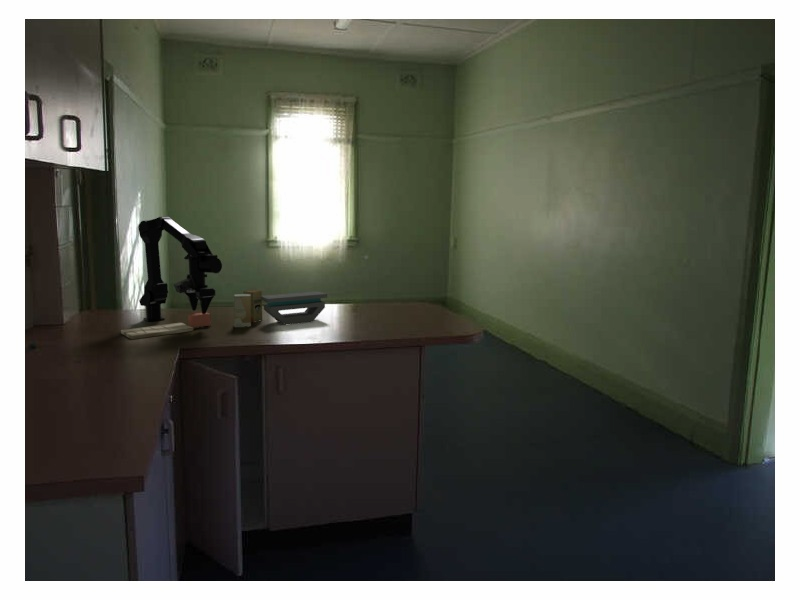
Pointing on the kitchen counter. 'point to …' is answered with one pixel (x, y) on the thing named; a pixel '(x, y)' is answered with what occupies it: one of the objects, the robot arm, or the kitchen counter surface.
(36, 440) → the kitchen counter surface
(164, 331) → the cream flat rectangular board
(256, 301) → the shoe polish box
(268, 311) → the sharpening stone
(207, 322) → the block
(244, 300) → the skincare box
